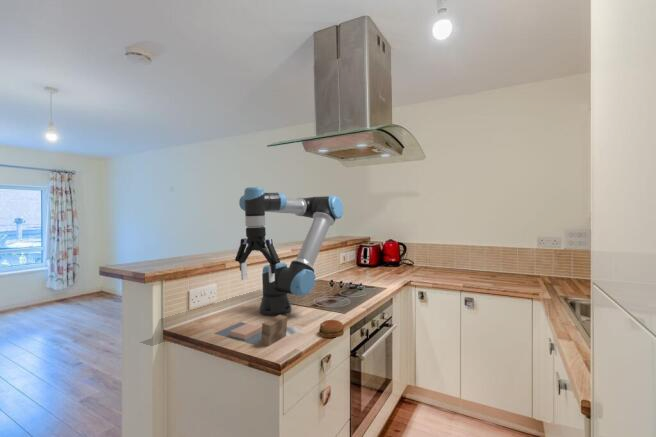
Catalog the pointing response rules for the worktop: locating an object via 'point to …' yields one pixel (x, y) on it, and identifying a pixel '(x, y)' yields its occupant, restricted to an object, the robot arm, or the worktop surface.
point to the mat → (226, 333)
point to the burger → (331, 329)
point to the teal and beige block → (245, 331)
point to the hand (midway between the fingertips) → (257, 280)
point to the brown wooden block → (276, 330)
